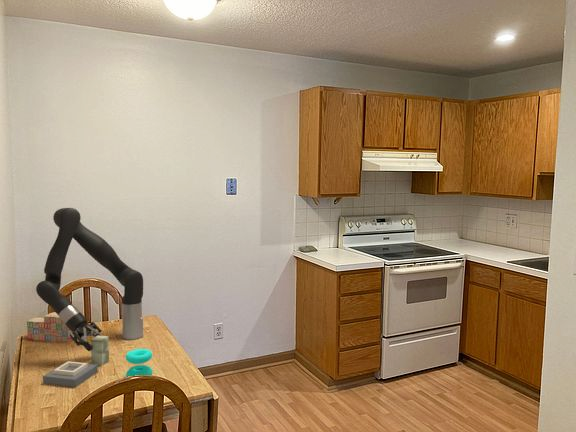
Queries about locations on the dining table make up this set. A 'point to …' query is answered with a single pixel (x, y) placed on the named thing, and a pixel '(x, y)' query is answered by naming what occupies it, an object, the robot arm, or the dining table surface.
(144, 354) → the donuts
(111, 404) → the dining table surface
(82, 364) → the plinth
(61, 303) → the robot arm
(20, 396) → the dining table surface
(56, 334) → the stack of blocks
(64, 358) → the dining table surface
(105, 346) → the pillar
